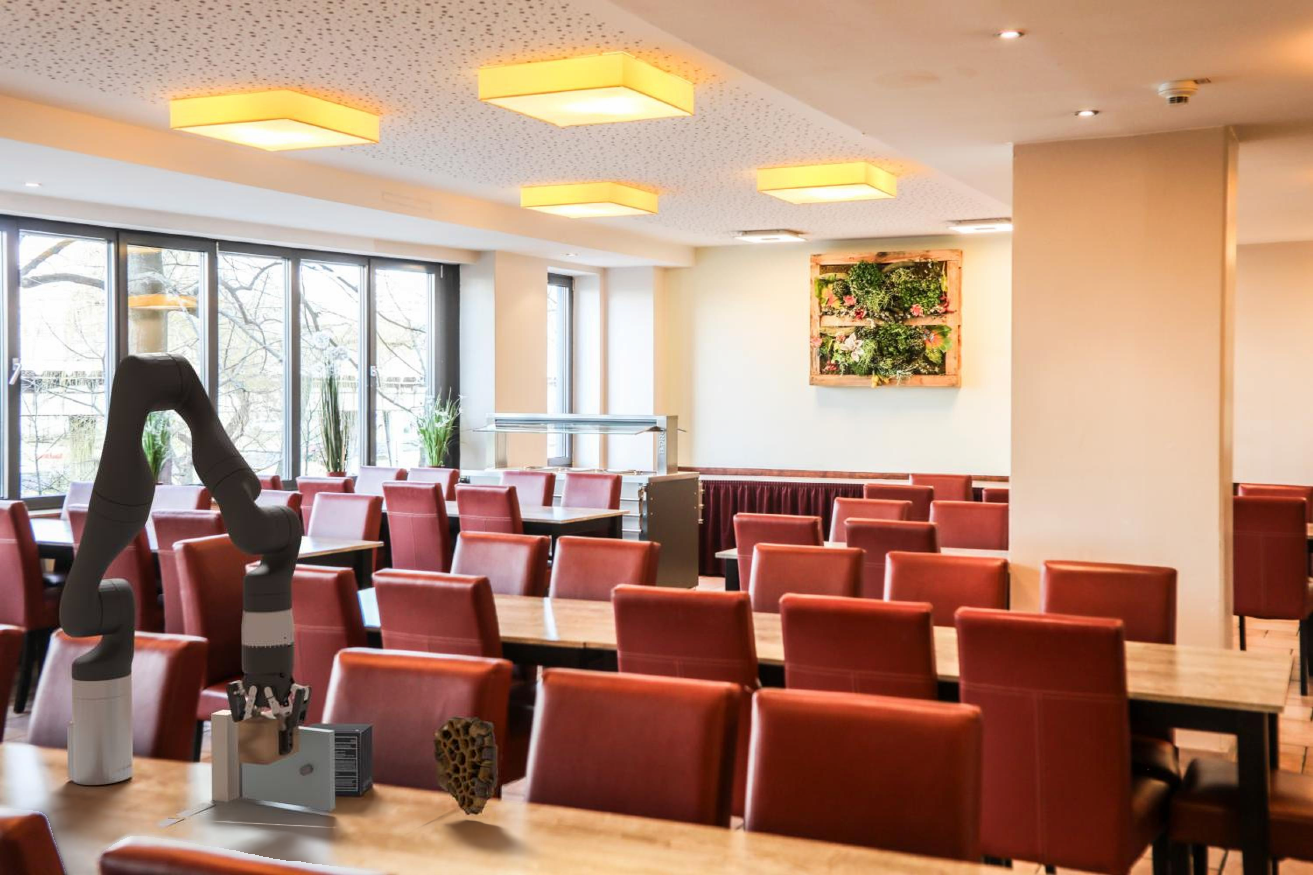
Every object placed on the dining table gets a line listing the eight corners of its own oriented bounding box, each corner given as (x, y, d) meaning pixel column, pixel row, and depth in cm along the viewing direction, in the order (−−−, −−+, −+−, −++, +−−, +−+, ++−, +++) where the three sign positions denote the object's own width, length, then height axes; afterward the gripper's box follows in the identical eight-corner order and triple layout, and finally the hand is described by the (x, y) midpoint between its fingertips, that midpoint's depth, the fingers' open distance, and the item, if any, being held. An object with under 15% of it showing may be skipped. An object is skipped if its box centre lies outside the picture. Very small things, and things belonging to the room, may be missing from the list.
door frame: (114, 845, 182) (113, 747, 181) (254, 782, 213) (253, 698, 212) (131, 847, 181) (130, 749, 181) (269, 783, 212) (269, 700, 211)
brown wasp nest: (425, 815, 195) (425, 718, 194) (437, 807, 199) (437, 712, 198) (495, 821, 192) (494, 722, 191) (505, 813, 196) (505, 716, 195)
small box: (374, 785, 211) (374, 722, 211) (361, 797, 204) (361, 732, 204) (313, 783, 212) (312, 721, 212) (298, 795, 205) (297, 730, 205)
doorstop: (238, 762, 188) (237, 721, 188) (271, 748, 195) (270, 709, 195) (266, 765, 186) (266, 724, 186) (298, 751, 194) (298, 712, 194)
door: (324, 812, 193) (323, 734, 193) (231, 799, 200) (230, 723, 200) (335, 808, 195) (334, 730, 195) (242, 794, 202) (242, 719, 202)
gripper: (211, 641, 189) (213, 755, 190) (294, 646, 185) (295, 762, 185) (243, 633, 196) (244, 742, 197) (323, 637, 192) (324, 750, 192)
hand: (269, 751), depth 191 cm, fingers closed on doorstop, 5 cm apart
